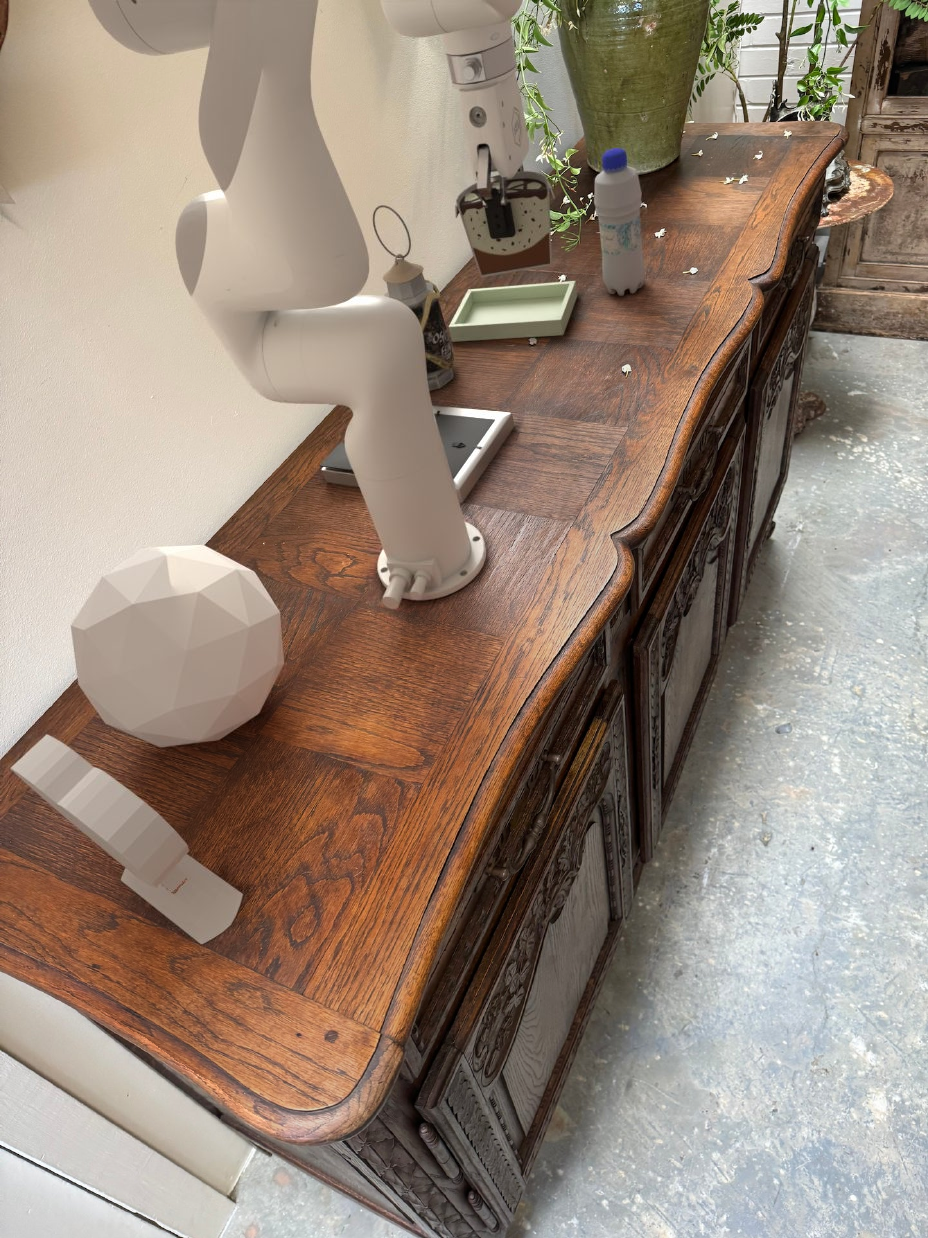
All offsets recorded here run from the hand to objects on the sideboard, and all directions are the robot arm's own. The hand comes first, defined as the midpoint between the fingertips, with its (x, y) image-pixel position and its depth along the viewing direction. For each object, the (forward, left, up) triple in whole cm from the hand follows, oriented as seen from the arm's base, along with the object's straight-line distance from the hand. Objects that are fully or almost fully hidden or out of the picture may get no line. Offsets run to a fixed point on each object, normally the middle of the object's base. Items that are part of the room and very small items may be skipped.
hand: (510, 222), depth 106 cm
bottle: (+20, -10, -20) cm, 30 cm away
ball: (-63, +20, -20) cm, 69 cm away
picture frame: (-21, +11, -20) cm, 31 cm away
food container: (0, 0, -5) cm, 5 cm away
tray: (+13, +6, -20) cm, 24 cm away
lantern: (-3, +15, -20) cm, 25 cm away
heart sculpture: (-83, +14, -20) cm, 86 cm away
